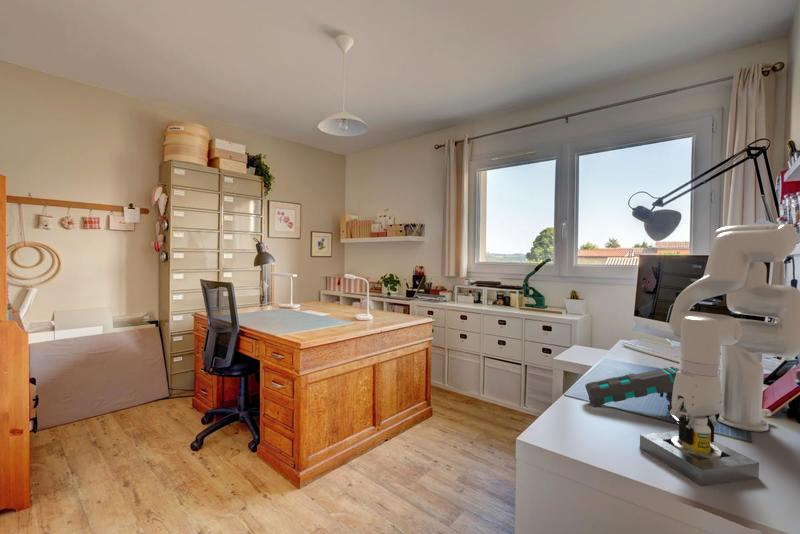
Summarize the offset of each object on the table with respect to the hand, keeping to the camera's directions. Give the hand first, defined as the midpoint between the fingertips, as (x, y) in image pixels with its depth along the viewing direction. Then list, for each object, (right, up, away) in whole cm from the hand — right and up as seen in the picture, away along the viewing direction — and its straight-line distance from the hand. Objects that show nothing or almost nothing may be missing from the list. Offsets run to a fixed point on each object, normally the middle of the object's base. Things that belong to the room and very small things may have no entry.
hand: (696, 440), depth 89 cm
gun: (+6, -5, +31) cm, 32 cm away
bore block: (0, -5, 0) cm, 5 cm away
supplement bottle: (0, -4, 0) cm, 4 cm away
